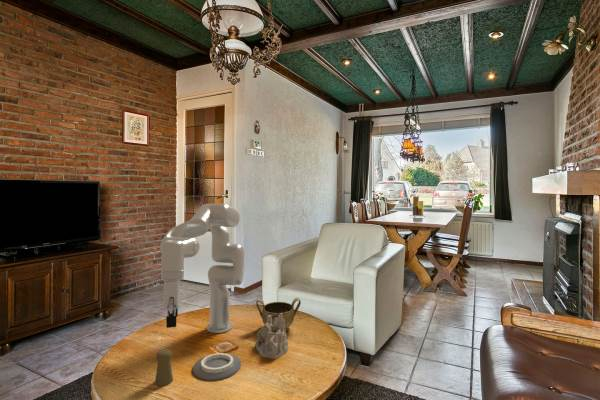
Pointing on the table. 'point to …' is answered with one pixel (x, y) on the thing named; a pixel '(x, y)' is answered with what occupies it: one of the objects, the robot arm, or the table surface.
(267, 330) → the ceramic cottage
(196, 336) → the table surface
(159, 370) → the cork
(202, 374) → the round tray
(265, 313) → the ceramic bowl
